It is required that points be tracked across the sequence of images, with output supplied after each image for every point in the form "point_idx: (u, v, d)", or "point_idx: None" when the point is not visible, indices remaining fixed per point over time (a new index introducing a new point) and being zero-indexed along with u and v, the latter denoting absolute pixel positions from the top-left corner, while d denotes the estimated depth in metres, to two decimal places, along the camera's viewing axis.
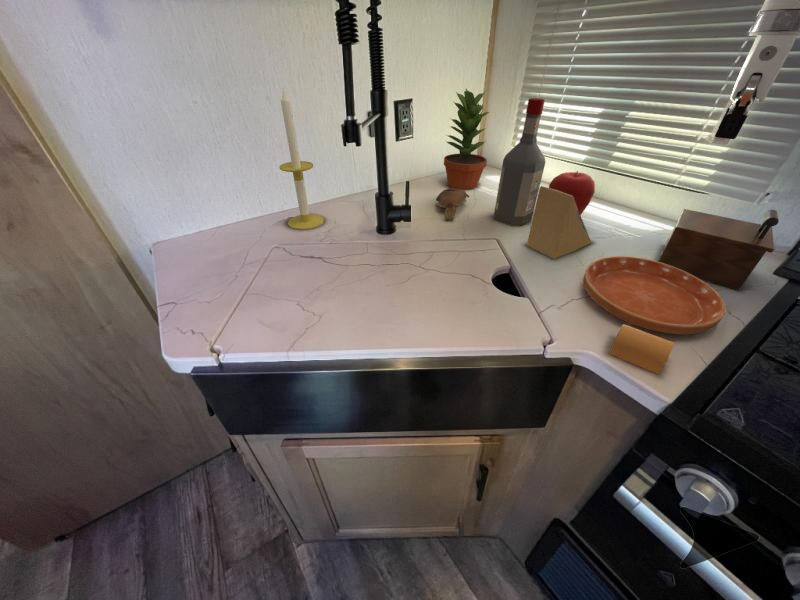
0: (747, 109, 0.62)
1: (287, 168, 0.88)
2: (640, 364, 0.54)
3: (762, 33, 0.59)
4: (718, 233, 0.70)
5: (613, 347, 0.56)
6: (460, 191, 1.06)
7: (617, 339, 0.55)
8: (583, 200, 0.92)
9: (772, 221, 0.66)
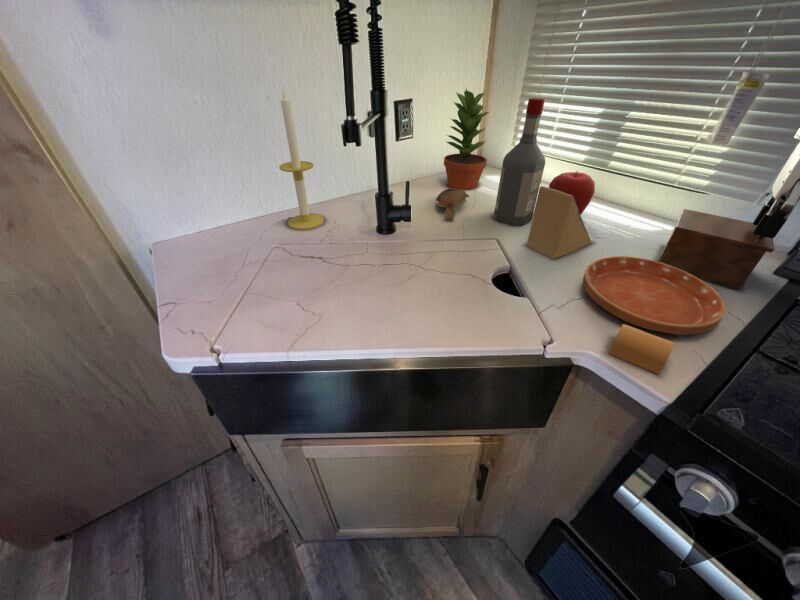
0: (787, 215, 0.63)
1: (287, 168, 0.88)
2: (640, 364, 0.54)
3: None
4: (718, 233, 0.70)
5: (613, 347, 0.56)
6: (460, 191, 1.06)
7: (617, 339, 0.55)
8: (583, 200, 0.92)
9: None
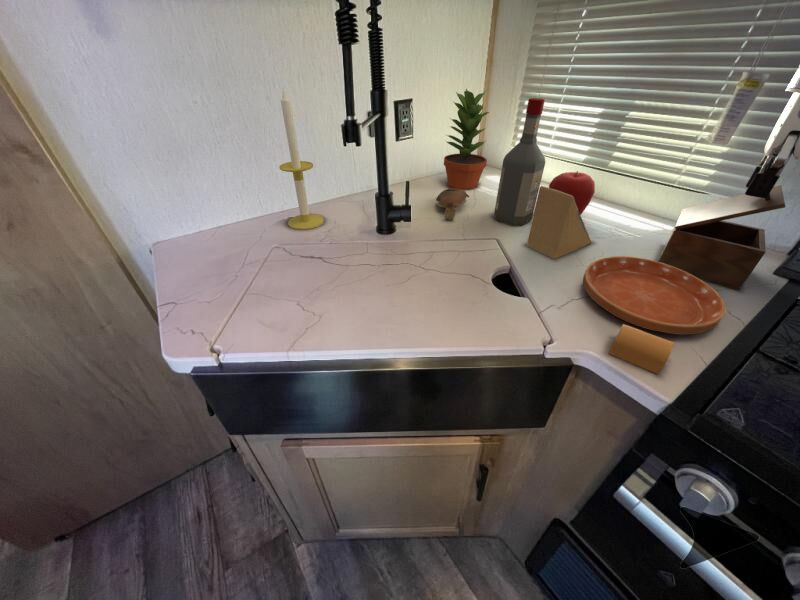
0: (779, 172, 0.62)
1: (287, 168, 0.88)
2: (640, 364, 0.54)
3: None
4: (720, 214, 0.69)
5: (613, 347, 0.56)
6: (460, 191, 1.06)
7: (617, 339, 0.55)
8: (583, 200, 0.92)
9: None
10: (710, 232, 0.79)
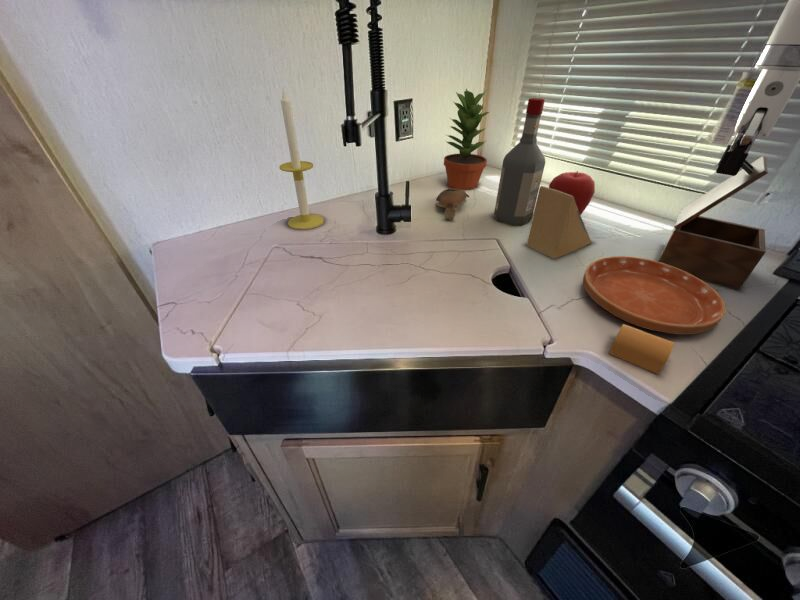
0: (747, 149, 0.63)
1: (287, 168, 0.88)
2: (640, 364, 0.54)
3: (768, 67, 0.58)
4: (711, 201, 0.69)
5: (613, 347, 0.56)
6: (460, 191, 1.06)
7: (617, 339, 0.55)
8: (583, 200, 0.92)
9: None
10: (710, 232, 0.79)
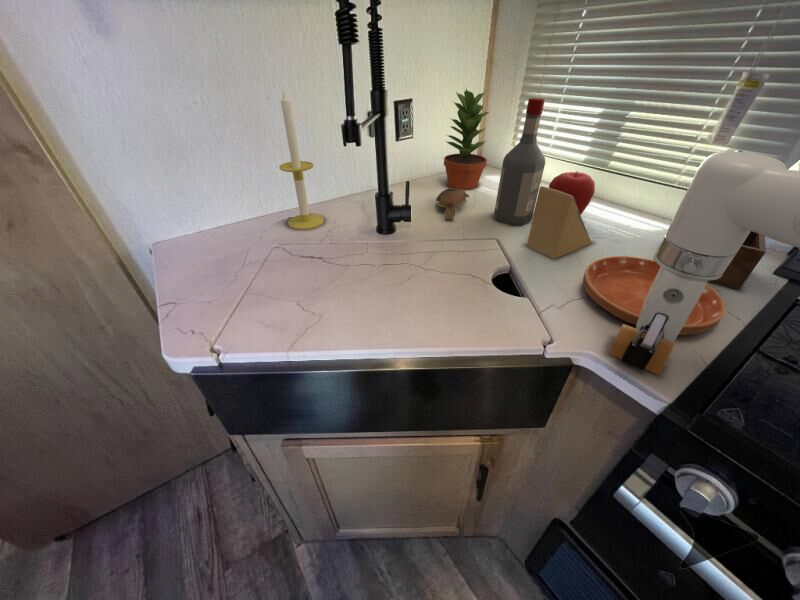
0: (652, 349, 0.50)
1: (287, 168, 0.88)
2: None
3: (666, 268, 0.45)
4: None
5: (613, 347, 0.56)
6: (460, 191, 1.06)
7: (617, 339, 0.55)
8: (583, 200, 0.92)
9: None
10: None
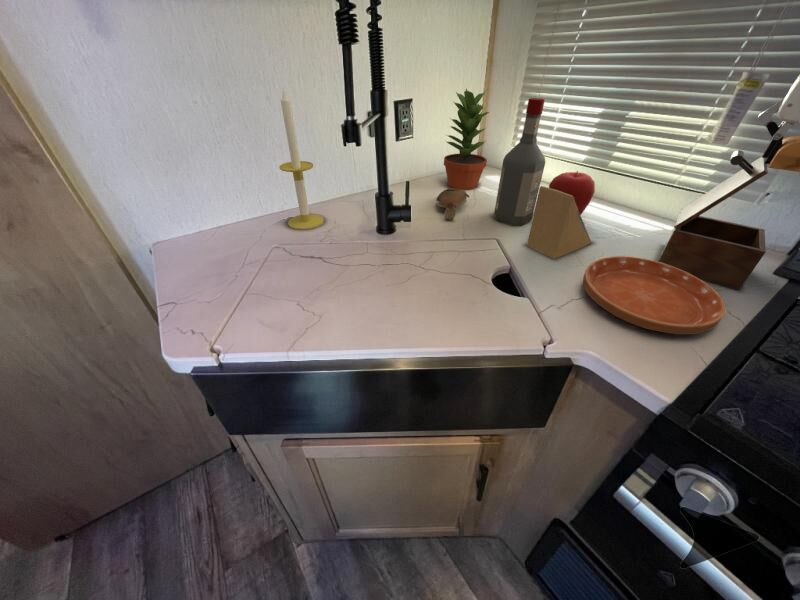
0: (773, 134, 0.62)
1: (287, 168, 0.88)
2: None
3: None
4: (711, 201, 0.69)
5: None
6: (460, 191, 1.06)
7: None
8: (583, 200, 0.92)
9: (736, 159, 0.65)
10: (710, 232, 0.79)
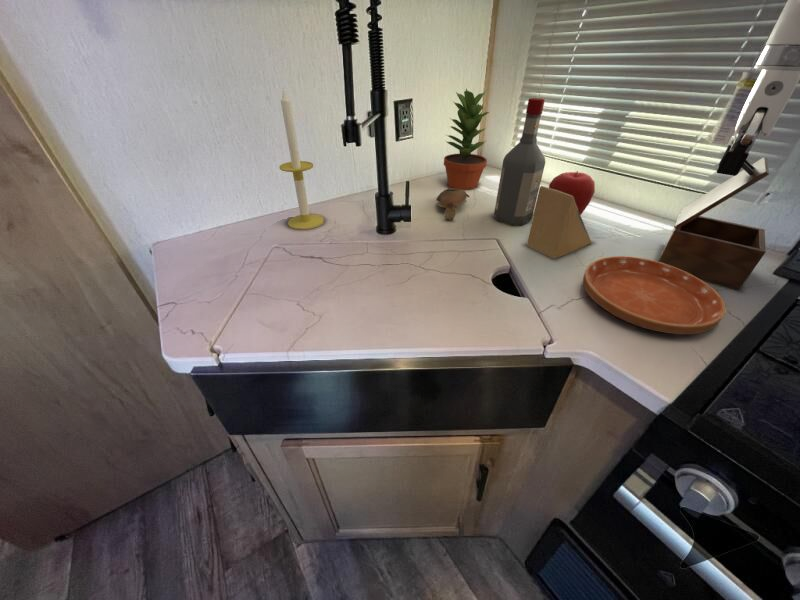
0: (748, 149, 0.63)
1: (287, 168, 0.88)
2: None
3: (767, 67, 0.58)
4: (712, 201, 0.69)
5: None
6: (460, 191, 1.06)
7: None
8: (583, 200, 0.92)
9: None
10: (710, 232, 0.79)
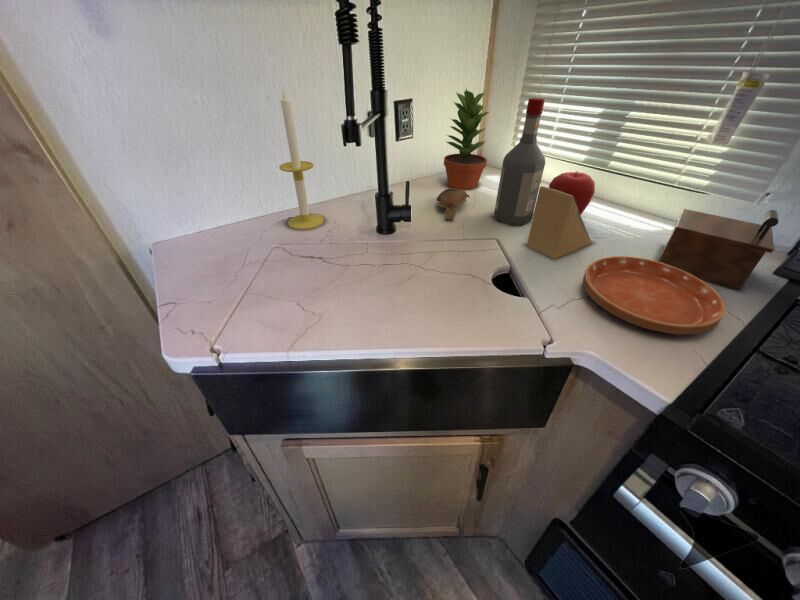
0: None
1: (287, 168, 0.88)
2: None
3: None
4: (718, 233, 0.70)
5: None
6: (460, 191, 1.06)
7: None
8: (583, 200, 0.92)
9: (772, 221, 0.66)
10: None
